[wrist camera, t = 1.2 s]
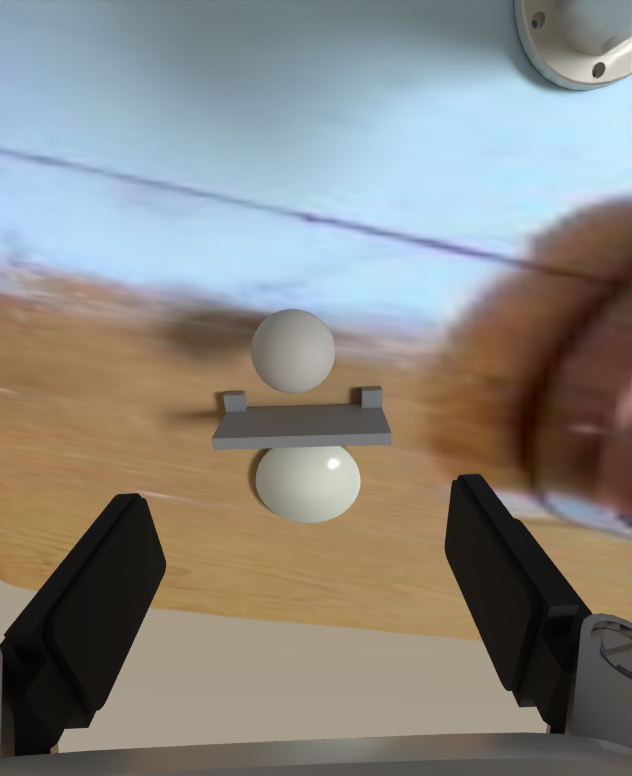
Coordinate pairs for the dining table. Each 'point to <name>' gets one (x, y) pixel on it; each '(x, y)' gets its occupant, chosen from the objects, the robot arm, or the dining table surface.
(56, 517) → the dining table surface
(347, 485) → the white round dome
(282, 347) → the lightbulb
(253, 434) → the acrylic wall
